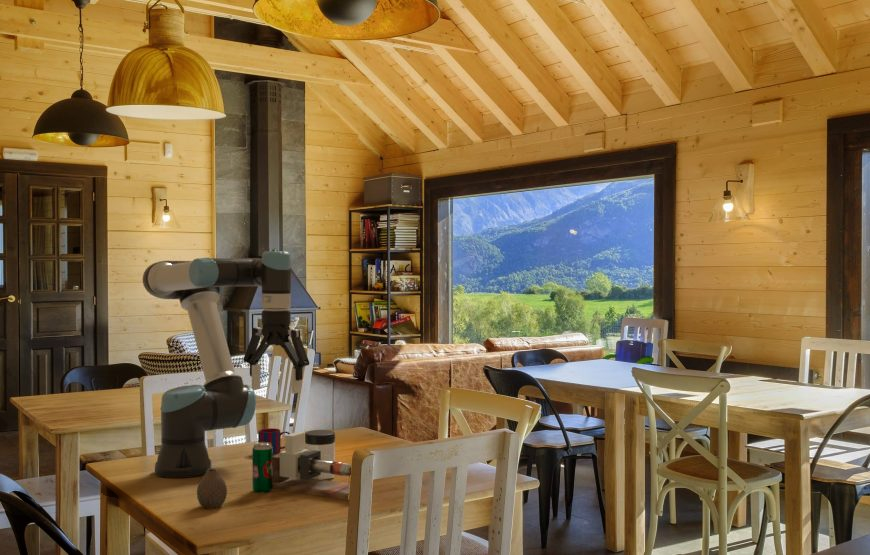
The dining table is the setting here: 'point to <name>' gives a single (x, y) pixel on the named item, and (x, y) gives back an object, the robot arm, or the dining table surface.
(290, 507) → the dining table surface
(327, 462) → the pipe
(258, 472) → the soda can
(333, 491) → the stand
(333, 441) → the jar
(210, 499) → the vase
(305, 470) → the dark grey square collar
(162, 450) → the robot arm
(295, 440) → the sleeve
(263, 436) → the mug
